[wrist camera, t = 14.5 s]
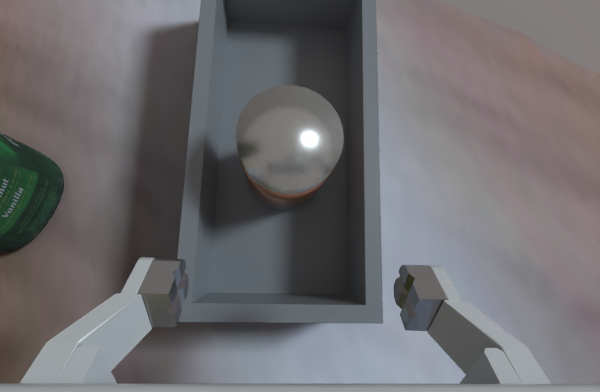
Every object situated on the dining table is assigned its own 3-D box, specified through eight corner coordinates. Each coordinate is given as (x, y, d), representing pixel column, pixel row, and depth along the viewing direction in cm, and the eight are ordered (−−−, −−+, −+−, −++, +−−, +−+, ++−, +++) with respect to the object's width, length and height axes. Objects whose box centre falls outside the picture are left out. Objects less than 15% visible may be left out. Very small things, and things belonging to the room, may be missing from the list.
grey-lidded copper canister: (320, 141, 25) (344, 87, 17) (320, 212, 24) (345, 191, 16) (248, 138, 25) (237, 80, 17) (245, 210, 24) (231, 187, 16)
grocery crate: (354, 29, 29) (375, -29, 23) (356, 306, 24) (382, 323, 19) (219, 17, 28) (205, -46, 22) (196, 304, 23) (171, 321, 18)
